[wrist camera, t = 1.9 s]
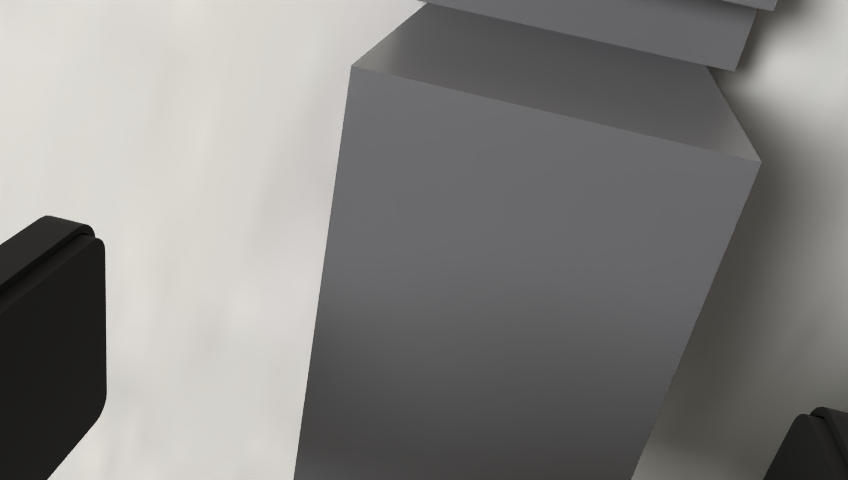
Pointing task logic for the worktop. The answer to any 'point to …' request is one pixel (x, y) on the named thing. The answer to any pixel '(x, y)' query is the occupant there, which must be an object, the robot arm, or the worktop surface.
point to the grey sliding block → (522, 237)
